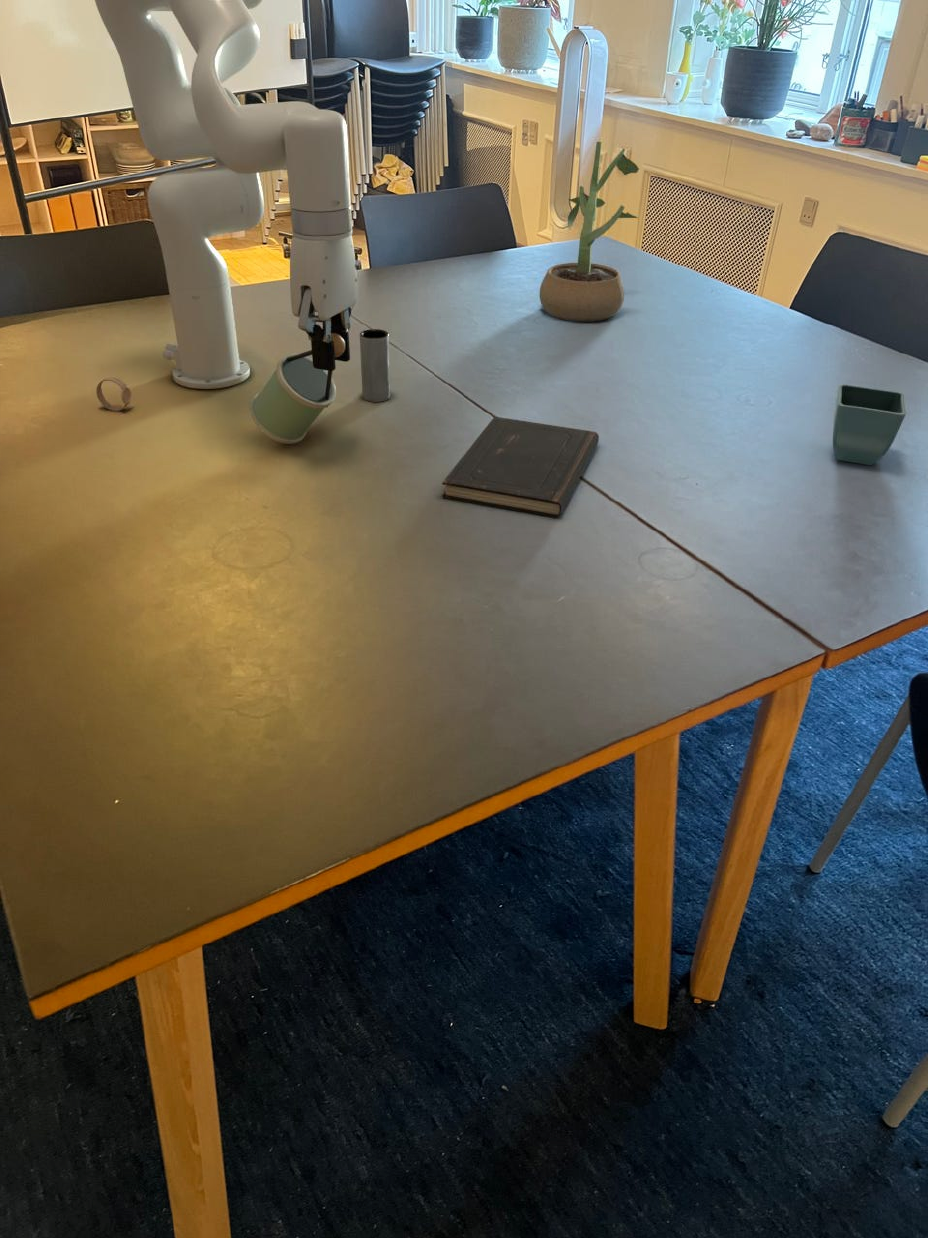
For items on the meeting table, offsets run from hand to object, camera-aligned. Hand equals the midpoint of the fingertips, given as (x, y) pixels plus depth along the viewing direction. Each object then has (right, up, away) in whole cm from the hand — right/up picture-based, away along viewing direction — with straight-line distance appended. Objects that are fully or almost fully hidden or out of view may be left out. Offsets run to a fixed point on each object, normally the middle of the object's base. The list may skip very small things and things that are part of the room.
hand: (331, 363), depth 129 cm
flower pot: (+75, -12, +8) cm, 76 cm away
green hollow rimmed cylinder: (-1, -5, +4) cm, 6 cm away
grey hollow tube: (+4, +1, +24) cm, 24 cm away
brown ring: (-36, -3, +18) cm, 40 cm away
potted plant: (+43, +29, +65) cm, 83 cm away
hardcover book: (+26, -14, +3) cm, 30 cm away
